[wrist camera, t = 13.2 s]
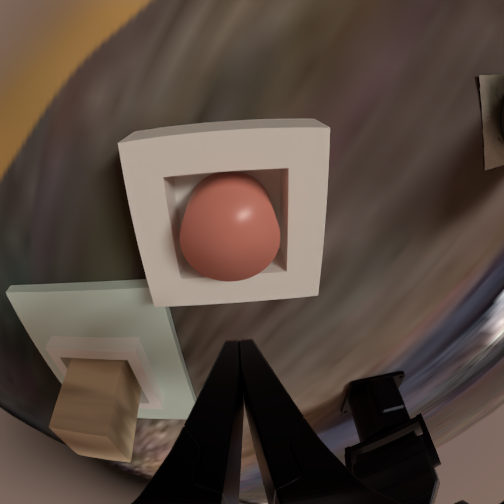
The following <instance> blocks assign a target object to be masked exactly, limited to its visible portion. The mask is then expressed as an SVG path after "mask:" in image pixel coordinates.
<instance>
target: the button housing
mask: <svg viewBox="0 0 504 504" xmlns="http://www.w3.org/2000/svg"><path fill="white" fill-rule="evenodd" d="M118 147H119V153H120V159H121V165H122V171H123V177H124V182H125V187H126V192H127V197H128V202H129V207H130V212H131V216H132V221H133V226H134V230H135V234H136V239H137V243H138V247H139V251H140V255H141V259H142V263H143V267H144V271H145V274H146V278H147V282H148V285H149V289H150V293H151V296H152V300H153V303H154V306H155V307H168V306H189V305H206V304H222V303H237V302H251V301H263V300H276V299H287V298H298V297H309V296H318V292H319V283H320V273H321V264H322V253H323V242H324V230H325V218H326V204H327V188H328V170H329V147H330V127H328V126H326V125H324V124H323V123H321V122H319V121H317V120H316V119H255V120H235V121H221V122H208V123H197V124H187V125H178V126H170V127H162V128H155V129H148V130H141V131H135V132H133V133H132V134H130V135H129V136H127V137H126V138H124V139H123V140H122V141H120V142H119V143H118ZM227 171H238V172H242V173H245V174H248V175H250V176H252V177H253V178H255V179H256V180H257V181H259V182H260V183H261V184H262V185H263V187H264V188H265V189H266V191H267V193H268V195H269V198H270V201H271V204H272V207H273V210H274V213H275V216H276V219H277V222H278V225H279V229H280V245H279V249H278V252H277V254H276V256H275V258H274V259H273V261H272V262H271V263H270V264H269V266H268V267H267V268H265V269H264V270H263V271H262V272H260V273H259V274H257V275H255V276H253V277H251V278H248V279H245V280H240V281H231V282H227V281H219V280H214V279H211V278H208V277H206V276H204V275H202V274H201V273H199V272H198V271H196V270H195V269H194V268H193V267H192V266H191V265H190V264H189V263H188V262H187V260H186V259H185V257H184V255H183V253H182V250H181V246H180V230H181V225H182V222H183V218H184V214H185V210H186V207H187V203H188V199H189V197H190V194H191V192H192V191H193V189H194V188H195V186H196V185H197V184H198V183H199V182H200V181H201V180H203V179H204V178H206V177H207V176H209V175H212V174H214V173H217V172H227Z"/></svg>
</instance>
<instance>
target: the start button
mask: <svg viewBox="0 0 504 504" xmlns="http://www.w3.org/2000/svg"><path fill="white" fill-rule="evenodd" d="M279 245H280V229H279V225H278V222H277V219H276V216H275V213H274V210H273V207H272V204H271V201H270V198H269V195H268V193H267V191H266V189H265V188H264V187H263V185H262V184H261V183H260V182H259V181H257V180H256V179H255V178H253V177H252V176H250V175H248V174H245V173H242V172H238V171H227V172H217V173H214V174H212V175H209V176H207V177H206V178H204V179H203V180H201V181H200V182H199V183H198V184H197V185H196V186H195V188H194V189H193V191H192V192H191V194H190V197H189V199H188V203H187V207H186V210H185V214H184V218H183V222H182V225H181V230H180V246H181V250H182V253H183V255H184V257H185V259H186V260H187V262H188V263H189V264H190V265H191V266H192V267H193V268H194V269H195V270H196V271H198V272H199V273H201V274H202V275H204V276H206V277H208V278H211V279H214V280H219V281H227V282H231V281H240V280H245V279H248V278H251V277H253V276H255V275H257V274H259V273H260V272H262V271H263V270H264V269H265V268H267V267H268V266H269V264H270V263H271V262H272V261H273V259H274V258H275V256H276V254H277V252H278V249H279Z"/></svg>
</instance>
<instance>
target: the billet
mask: <svg viewBox="0 0 504 504" xmlns="http://www.w3.org/2000/svg"><path fill="white" fill-rule="evenodd" d="M141 390H142V388H141V386H140V384H139V382H138V380H137V378H136V376H135V374H134V372H133V370H132V368H131V366H130V364H129V362H128V360H107V359H84V358H72V359H71V362H70V364H69V367H68V370H67V372H66V375H65V378H64V381H63V384H62V387H61V390H60V393H59V396H58V399H57V402H56V405H55V408H54V411H53V414H52V418H51V421H50V424H49V428H50V429H51V430H52V431H53V432H54V433H55V434H56V435H57V436H58V437H59V438H60V439H61V440H63V441H64V442H65V443H66V444H67V445H68V446H69V447H70V448H71V449H72V450H73V451H75V452H76V453H77V454H79V455H84V456H89V457H95V458H101V459H108V460H115V461H123V462H131V458H132V450H133V442H134V435H135V428H136V421H137V414H138V408H139V402H140V396H141Z"/></svg>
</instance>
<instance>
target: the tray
mask: <svg viewBox="0 0 504 504" xmlns="http://www.w3.org/2000/svg"><path fill="white" fill-rule="evenodd" d="M6 294H7V296H8V298H9V300H10V302H11V304H12V306H13V308H14V309H15V311H16V313H17V315H18V317H19V319H20V320H21V322H22V324H23V326H24V327H25V329H26V331H27V332H28V334H29V336H30V337H31V339H32V341H33V342H34V344H35V346H36V347H37V349H38V350H39V352H40V353H41V355H42V356H43V358H44V360H45V361H46V362H47V364H48V365H49V367H50V368H51V370H52V371H53V373H54V374H55V376H56V377H57V378H58V380H59V381H60V383H61V384H63V381H64V378H65V375H66V372H67V370H68V367H69V364H70V362H71V359H72V358H84V359H107V360H128V362H129V364H130V366H131V368H132V370H133V372H134V374H135V376H136V378H137V380H138V382H139V384H140V386H141V388H142V390H141V396H140V402H139V408H138V414H137V418H152V419H187V418H188V416H189V414H190V412H191V410H192V408H193V406H194V404H195V402H196V400H197V399H196V396H195V393H194V390H193V387H192V384H191V381H190V378H189V374H188V371H187V368H186V365H185V362H184V358H183V355H182V352H181V348H180V345H179V341H178V338H177V334H176V331H175V327H174V323H173V320H172V316H171V312H170V308H169V306H168V307H155V306H154V303H153V300H152V296H151V293H150V289H149V285H148V282H147V279H138V280H120V281H100V282H80V283H57V284H32V285H11V286H10V287H9V289H8V290H7V291H6Z"/></svg>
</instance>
